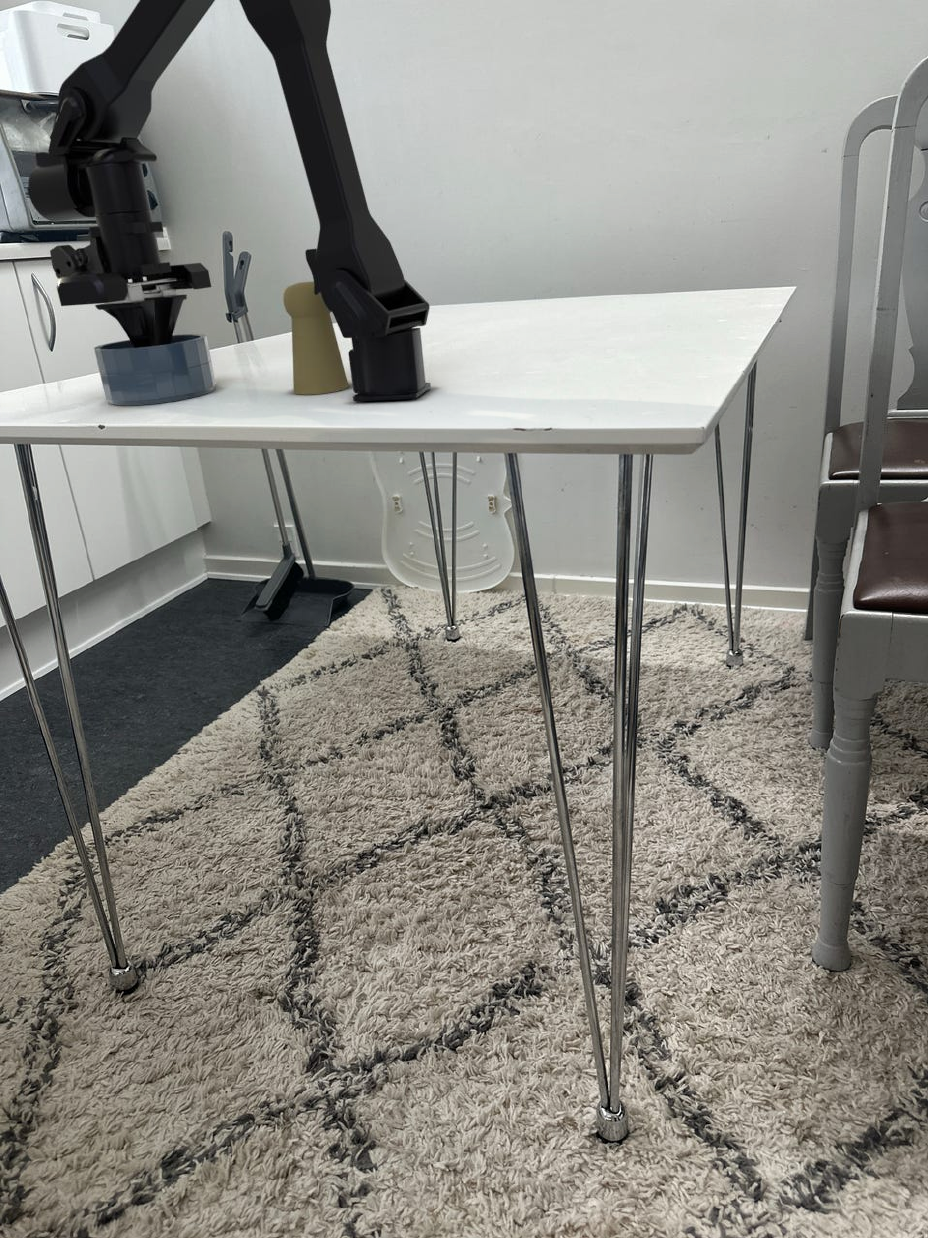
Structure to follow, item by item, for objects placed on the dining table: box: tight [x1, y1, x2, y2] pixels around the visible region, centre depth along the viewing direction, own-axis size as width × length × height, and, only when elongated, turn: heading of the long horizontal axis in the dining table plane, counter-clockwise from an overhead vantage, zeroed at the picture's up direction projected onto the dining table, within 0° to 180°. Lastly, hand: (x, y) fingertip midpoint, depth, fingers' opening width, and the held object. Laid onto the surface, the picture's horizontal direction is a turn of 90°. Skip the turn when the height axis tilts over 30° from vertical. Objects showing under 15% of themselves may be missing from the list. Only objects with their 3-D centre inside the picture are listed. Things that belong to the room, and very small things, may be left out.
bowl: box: [93, 333, 217, 407], centre depth 102 cm, size 12×12×6 cm
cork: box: [282, 281, 350, 396], centre depth 95 cm, size 6×6×11 cm
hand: (155, 364), depth 101 cm, fingers closed
